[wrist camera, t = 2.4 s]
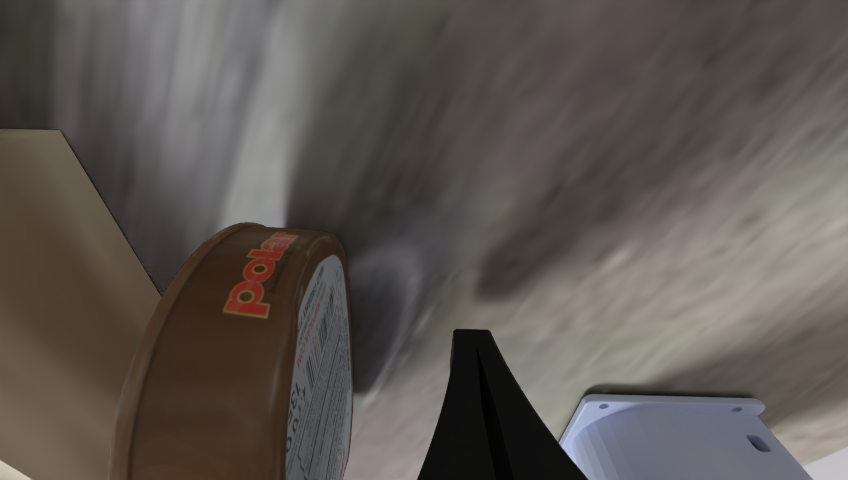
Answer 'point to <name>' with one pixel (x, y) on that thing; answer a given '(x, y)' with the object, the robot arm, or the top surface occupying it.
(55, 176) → the board
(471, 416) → the robot arm
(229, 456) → the tin
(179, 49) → the top surface
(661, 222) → the top surface
